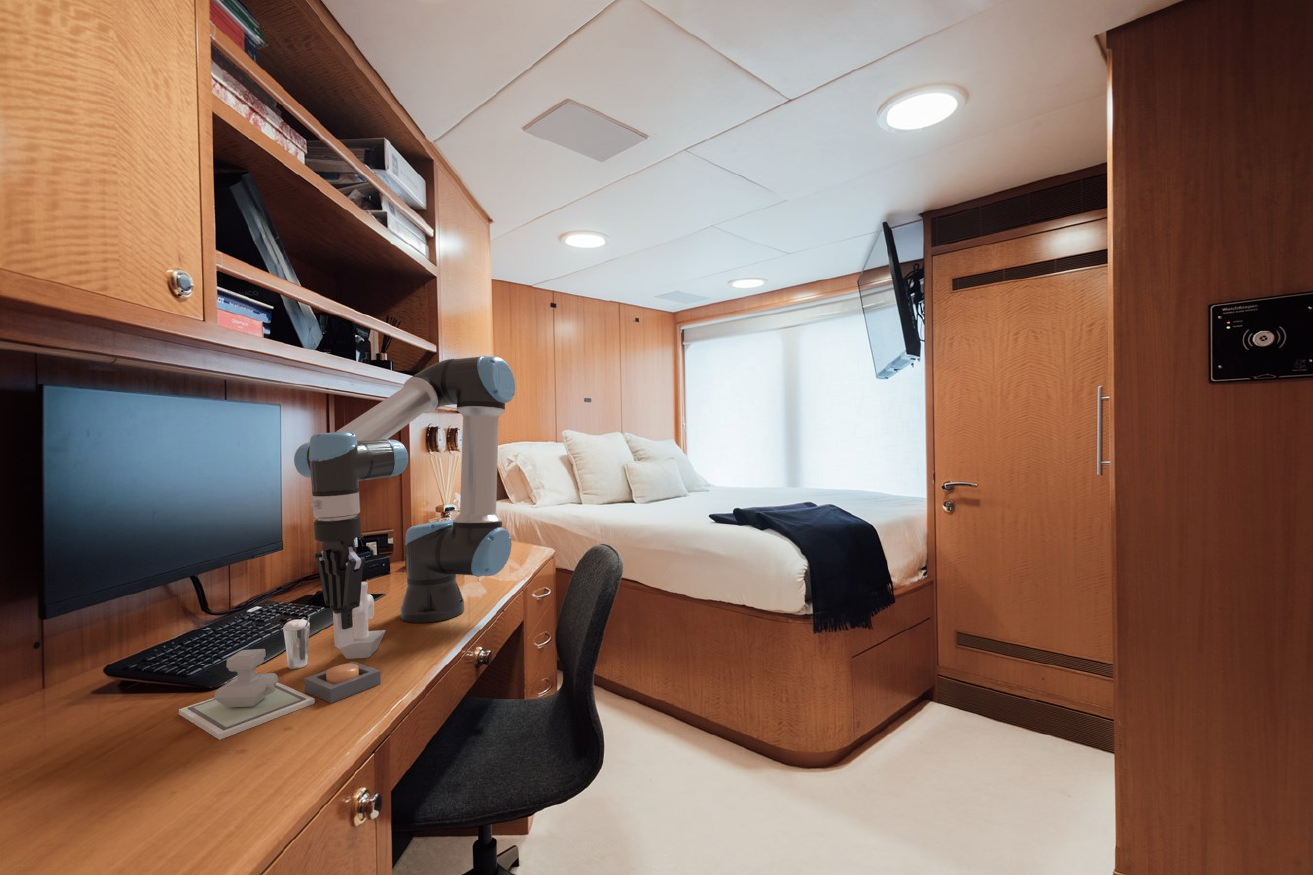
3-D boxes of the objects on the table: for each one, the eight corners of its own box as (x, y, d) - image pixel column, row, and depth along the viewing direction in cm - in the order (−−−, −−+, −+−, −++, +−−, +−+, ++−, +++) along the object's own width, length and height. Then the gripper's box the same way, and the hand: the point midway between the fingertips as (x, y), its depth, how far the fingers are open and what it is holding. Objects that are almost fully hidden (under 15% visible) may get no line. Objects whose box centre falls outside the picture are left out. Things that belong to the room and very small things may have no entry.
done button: (349, 677, 112) (348, 661, 112) (364, 683, 109) (364, 667, 109) (321, 687, 108) (320, 671, 108) (336, 694, 105) (335, 677, 105)
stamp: (206, 713, 98) (204, 662, 98) (232, 695, 104) (231, 647, 104) (263, 710, 98) (261, 659, 98) (286, 692, 105) (284, 645, 105)
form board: (270, 683, 111) (270, 678, 111) (314, 703, 103) (314, 698, 103) (179, 714, 100) (178, 708, 100) (219, 739, 91) (219, 733, 91)
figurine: (388, 645, 130) (385, 576, 130) (370, 662, 121) (367, 587, 120) (353, 647, 129) (351, 577, 129) (333, 664, 120) (330, 589, 120)
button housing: (353, 673, 115) (353, 661, 115) (380, 683, 110) (380, 670, 110) (304, 691, 107) (304, 678, 107) (331, 703, 102) (330, 689, 102)
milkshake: (302, 671, 117) (300, 620, 117) (278, 669, 118) (277, 619, 118) (319, 662, 121) (318, 613, 121) (297, 660, 122) (295, 612, 122)
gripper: (297, 518, 109) (305, 645, 110) (335, 523, 102) (343, 659, 103) (338, 511, 116) (345, 632, 117) (377, 516, 108) (384, 644, 109)
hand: (344, 644), depth 110 cm, fingers closed
